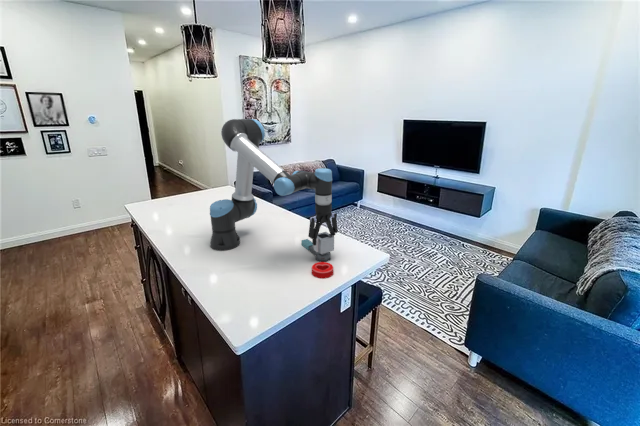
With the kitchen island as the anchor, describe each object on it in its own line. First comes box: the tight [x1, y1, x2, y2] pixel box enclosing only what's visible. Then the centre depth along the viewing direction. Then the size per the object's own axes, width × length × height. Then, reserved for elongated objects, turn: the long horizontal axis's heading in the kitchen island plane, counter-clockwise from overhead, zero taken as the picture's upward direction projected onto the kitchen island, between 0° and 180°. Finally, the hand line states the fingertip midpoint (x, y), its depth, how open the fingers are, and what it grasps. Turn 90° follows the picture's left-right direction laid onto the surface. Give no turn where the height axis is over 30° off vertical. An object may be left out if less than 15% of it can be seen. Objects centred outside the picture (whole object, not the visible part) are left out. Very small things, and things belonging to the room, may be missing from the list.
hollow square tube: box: [313, 231, 335, 254], centre depth 139 cm, size 7×7×7 cm
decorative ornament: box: [311, 261, 335, 279], centre depth 129 cm, size 10×10×3 cm
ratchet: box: [300, 238, 331, 263], centre depth 147 cm, size 22×7×8 cm, turn 31°
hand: (323, 248), depth 140 cm, fingers closed on hollow square tube, 7 cm apart
